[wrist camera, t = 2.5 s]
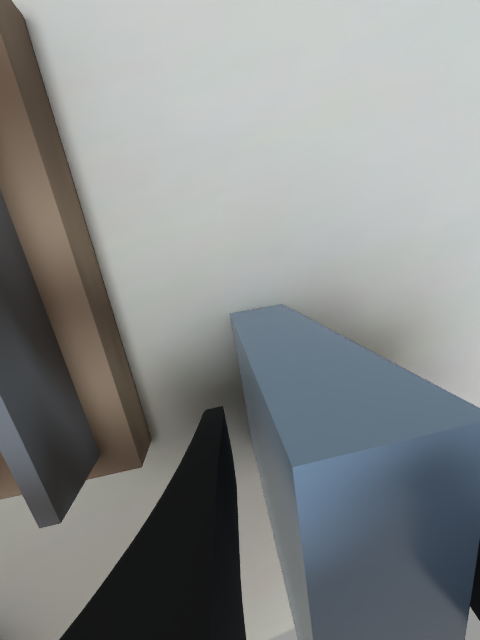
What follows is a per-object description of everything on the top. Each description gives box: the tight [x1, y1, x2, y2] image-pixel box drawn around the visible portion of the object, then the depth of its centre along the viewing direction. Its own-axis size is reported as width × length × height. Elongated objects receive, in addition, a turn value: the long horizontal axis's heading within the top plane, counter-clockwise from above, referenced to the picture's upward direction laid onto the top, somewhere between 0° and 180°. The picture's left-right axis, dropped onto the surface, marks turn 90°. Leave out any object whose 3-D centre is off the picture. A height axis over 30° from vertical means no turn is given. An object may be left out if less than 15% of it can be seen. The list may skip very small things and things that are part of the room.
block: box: [230, 304, 480, 640], centre depth 7 cm, size 7×2×8 cm, turn 9°
